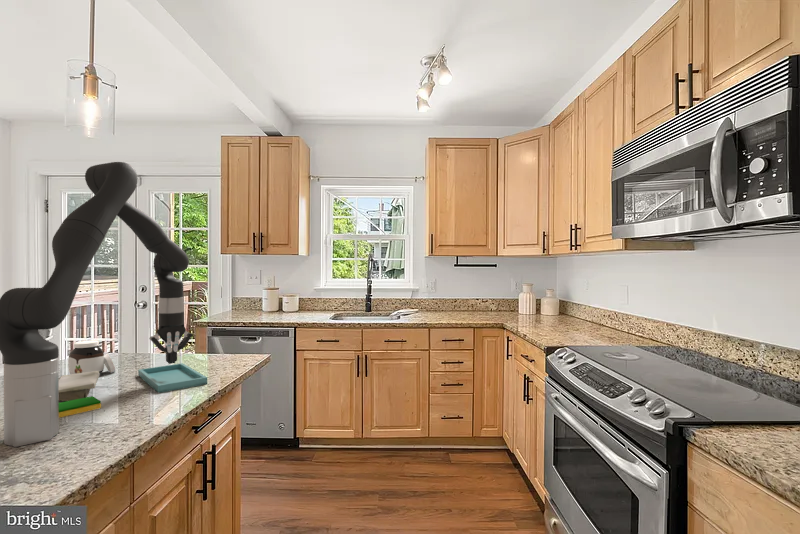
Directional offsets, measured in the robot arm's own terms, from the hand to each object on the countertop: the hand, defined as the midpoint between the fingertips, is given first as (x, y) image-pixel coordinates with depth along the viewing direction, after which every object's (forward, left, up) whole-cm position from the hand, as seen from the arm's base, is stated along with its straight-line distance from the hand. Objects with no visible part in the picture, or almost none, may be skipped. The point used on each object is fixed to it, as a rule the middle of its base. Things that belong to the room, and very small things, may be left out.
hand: (171, 363), depth 141 cm
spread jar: (+25, +18, -6) cm, 31 cm away
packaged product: (0, +20, -3) cm, 20 cm away
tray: (0, 0, -6) cm, 6 cm away
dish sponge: (-15, +29, -6) cm, 33 cm away
